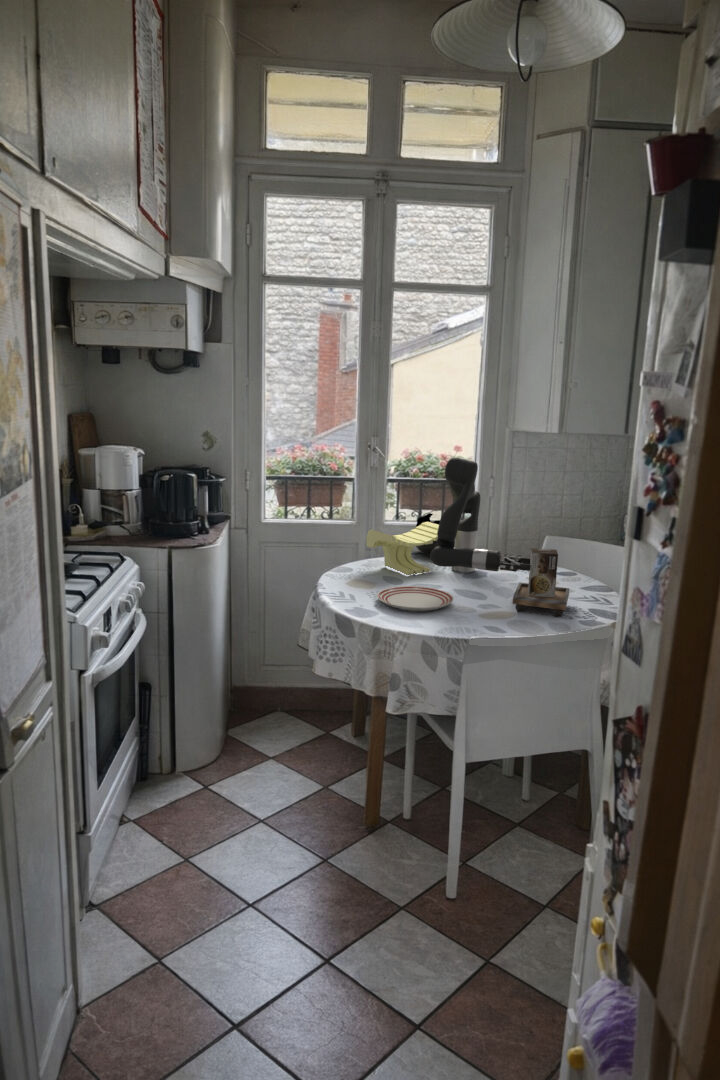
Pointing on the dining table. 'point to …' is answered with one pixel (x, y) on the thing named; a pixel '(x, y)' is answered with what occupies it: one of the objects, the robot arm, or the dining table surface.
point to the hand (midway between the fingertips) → (531, 564)
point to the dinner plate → (415, 598)
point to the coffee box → (543, 572)
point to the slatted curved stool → (403, 546)
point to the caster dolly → (541, 599)
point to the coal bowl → (426, 547)
